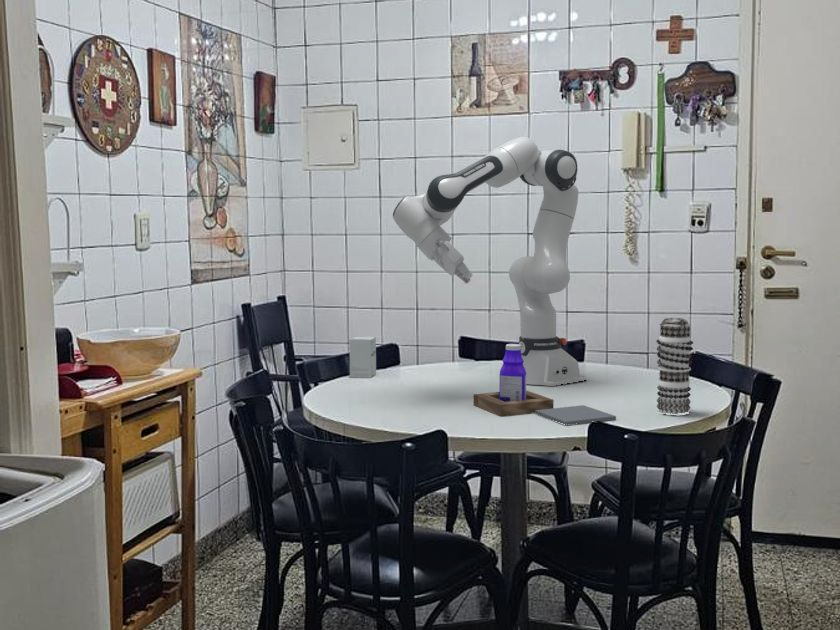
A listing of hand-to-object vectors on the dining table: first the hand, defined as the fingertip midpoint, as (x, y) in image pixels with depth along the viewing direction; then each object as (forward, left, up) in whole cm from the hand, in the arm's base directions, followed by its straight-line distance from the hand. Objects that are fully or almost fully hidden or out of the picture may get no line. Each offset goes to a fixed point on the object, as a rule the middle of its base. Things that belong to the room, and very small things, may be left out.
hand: (469, 279), depth 269 cm
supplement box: (+16, -47, -34) cm, 60 cm away
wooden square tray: (-4, +18, -34) cm, 39 cm away
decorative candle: (-39, +42, -34) cm, 67 cm away
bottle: (-4, +18, -34) cm, 39 cm away
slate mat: (-13, +35, -34) cm, 51 cm away
